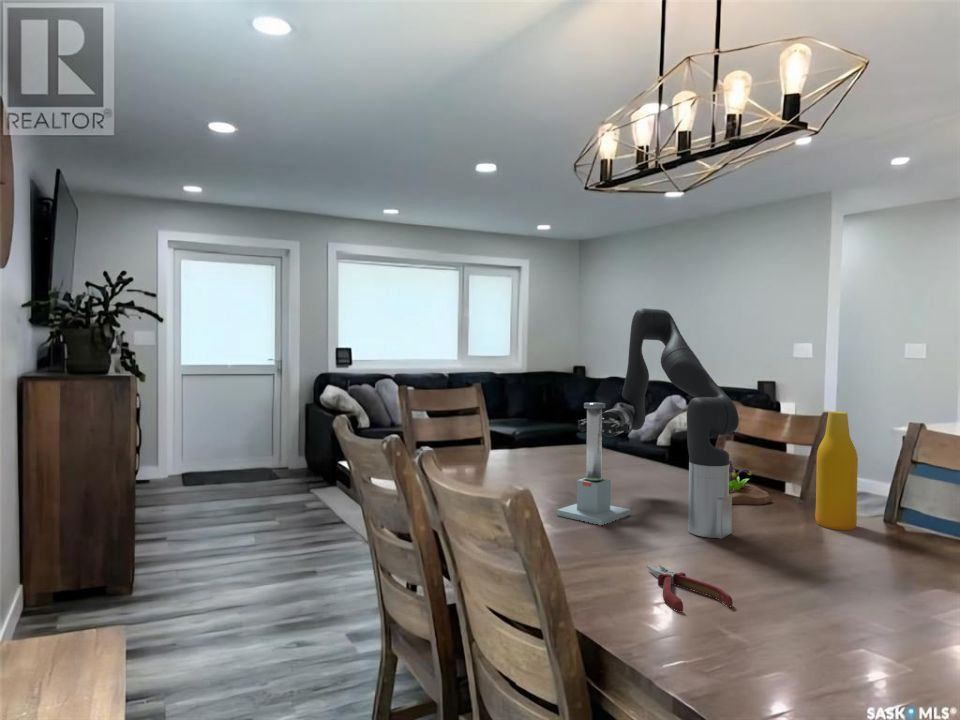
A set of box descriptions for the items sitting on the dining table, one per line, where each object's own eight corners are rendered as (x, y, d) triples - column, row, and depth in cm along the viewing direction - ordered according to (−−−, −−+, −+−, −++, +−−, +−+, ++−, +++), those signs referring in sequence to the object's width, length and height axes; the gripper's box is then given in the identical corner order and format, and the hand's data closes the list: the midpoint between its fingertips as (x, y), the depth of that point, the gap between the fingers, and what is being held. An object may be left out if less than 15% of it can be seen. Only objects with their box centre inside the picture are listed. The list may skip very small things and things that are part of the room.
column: (608, 481, 170) (609, 403, 169) (597, 485, 166) (597, 404, 165) (590, 478, 174) (591, 402, 173) (579, 482, 170) (579, 403, 169)
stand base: (629, 514, 170) (630, 479, 170) (601, 525, 160) (602, 488, 160) (586, 505, 180) (586, 472, 180) (556, 515, 170) (557, 480, 169)
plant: (752, 490, 201) (753, 455, 201) (779, 506, 182) (779, 467, 182) (689, 489, 202) (689, 454, 202) (708, 505, 183) (709, 466, 182)
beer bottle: (815, 527, 159) (817, 413, 159) (815, 518, 168) (817, 409, 167) (857, 532, 155) (860, 415, 154) (855, 523, 163) (857, 411, 163)
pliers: (678, 569, 131) (678, 557, 130) (735, 610, 111) (736, 596, 111) (626, 573, 128) (626, 561, 128) (675, 616, 109) (675, 601, 109)
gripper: (590, 408, 189) (572, 413, 175) (637, 410, 183) (623, 416, 168) (590, 433, 189) (571, 440, 175) (637, 436, 183) (622, 444, 168)
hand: (597, 428), depth 172 cm, fingers open, 8 cm apart
